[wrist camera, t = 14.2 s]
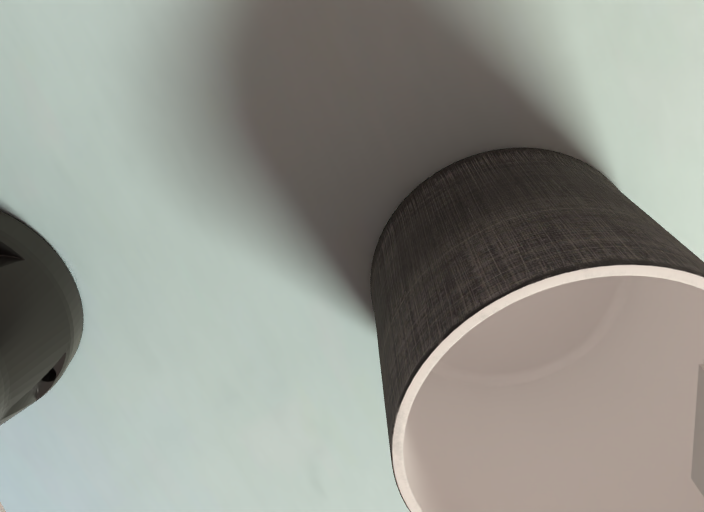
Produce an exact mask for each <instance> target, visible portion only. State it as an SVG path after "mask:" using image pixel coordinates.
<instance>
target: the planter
mask: <svg viewBox="0 0 704 512" xmlns="http://www.w3.org/2000/svg"><path fill="white" fill-rule="evenodd" d="M371 297H372V303H373V308H374V312H375V320H376V328H377V338H378V347H379V357H380V365H381V374H382V383H383V392H384V401H385V409H386V418H387V427H388V435H389V444H390V453H391V461H392V467H393V473H394V477H395V481H396V484H397V487H398V489H399V492H400V494H401V497H402V499H403V500H404V502H405V504H406V506H407V508H408V509H409V511H410V512H704V497H703V495H702V494H701V492H700V491H699V489H698V488H697V486H696V485H695V483H694V482H693V480H692V479H691V470H692V456H693V441H694V427H695V412H696V398H697V384H698V369H699V364H703V363H704V262H703V261H702V260H700V259H699V258H698V257H697V256H696V255H695V254H693V253H692V252H691V251H690V250H689V249H688V248H686V247H685V246H684V245H683V244H682V243H680V242H679V241H678V240H677V239H676V238H675V237H673V236H672V235H671V234H670V233H669V232H668V231H666V230H665V229H664V228H663V227H662V226H660V225H659V224H658V223H657V222H656V221H655V220H653V219H652V218H651V217H650V216H649V215H647V214H646V213H645V212H644V211H643V210H641V209H640V208H639V207H638V206H637V205H635V204H634V203H633V202H632V201H631V200H629V199H628V198H627V197H626V196H625V195H624V194H623V193H621V192H620V191H619V190H618V188H617V187H616V186H615V185H614V184H613V183H611V182H610V181H609V180H608V179H607V178H606V177H605V176H604V175H602V174H601V173H600V172H598V171H597V170H596V169H594V168H592V167H591V166H589V165H588V164H586V163H584V162H582V161H580V160H578V159H575V158H573V157H570V156H568V155H564V154H561V153H558V152H554V151H549V150H543V149H534V148H510V149H500V150H494V151H489V152H485V153H481V154H477V155H474V156H471V157H468V158H466V159H463V160H461V161H458V162H456V163H454V164H452V165H450V166H448V167H446V168H444V169H442V170H441V171H439V172H437V173H436V174H434V175H433V176H431V177H430V178H428V179H427V180H426V181H424V182H423V183H422V184H421V185H419V186H418V187H417V188H416V189H415V190H414V191H413V192H412V193H411V194H410V195H409V196H408V197H407V198H406V199H405V200H404V201H403V202H402V203H401V205H400V206H399V207H398V208H397V210H396V211H395V212H394V214H393V215H392V217H391V218H390V220H389V221H388V223H387V225H386V227H385V228H384V230H383V232H382V235H381V237H380V239H379V242H378V244H377V247H376V250H375V254H374V258H373V263H372V269H371Z"/></svg>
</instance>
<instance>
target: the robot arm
mask: <svg viewBox="0 0 704 512" xmlns="http://www.w3.org/2000/svg"><path fill="white" fill-rule="evenodd" d="M82 331H83V308H82V302H81V298H80V295H79V291H78V289H77V286H76V284H75V281H74V279H73V277H72V275H71V274H70V272H69V270H68V268H67V267H66V265H65V264H64V262H63V261H62V260H61V258H60V257H59V256H58V254H57V253H56V252H55V251H54V250H53V249H52V248H51V247H50V246H49V245H48V244H47V243H46V242H45V241H44V240H43V239H42V238H41V237H40V236H39V235H38V234H36V233H35V232H34V231H33V230H31V229H30V228H28V227H27V226H26V225H24V224H23V223H21V222H20V221H18V220H16V219H15V218H13V217H11V216H9V215H7V214H5V213H3V212H1V211H0V425H2V424H3V423H5V422H6V421H8V420H9V419H11V418H12V417H13V416H15V415H16V414H18V413H19V412H21V411H22V410H24V409H25V408H27V407H28V406H30V405H31V404H33V403H34V402H35V401H37V400H38V399H40V398H41V397H42V396H44V395H45V394H46V393H47V392H48V391H49V390H50V389H51V388H52V387H53V386H54V385H55V384H56V383H57V382H58V380H59V379H60V378H61V376H62V375H63V373H64V372H65V370H66V368H67V367H68V365H69V363H70V362H71V360H72V358H73V357H74V355H75V353H76V351H77V349H78V346H79V344H80V340H81V337H82ZM691 479H692V480H693V482H694V483H695V485H696V486H697V488H698V489H699V491H700V492H701V494H702V495H703V497H704V363H703V364H699V369H698V384H697V398H696V412H695V427H694V441H693V456H692V470H691ZM0 512H6V511H5V510H4V508H3V506H2V504H1V503H0Z"/></svg>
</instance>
